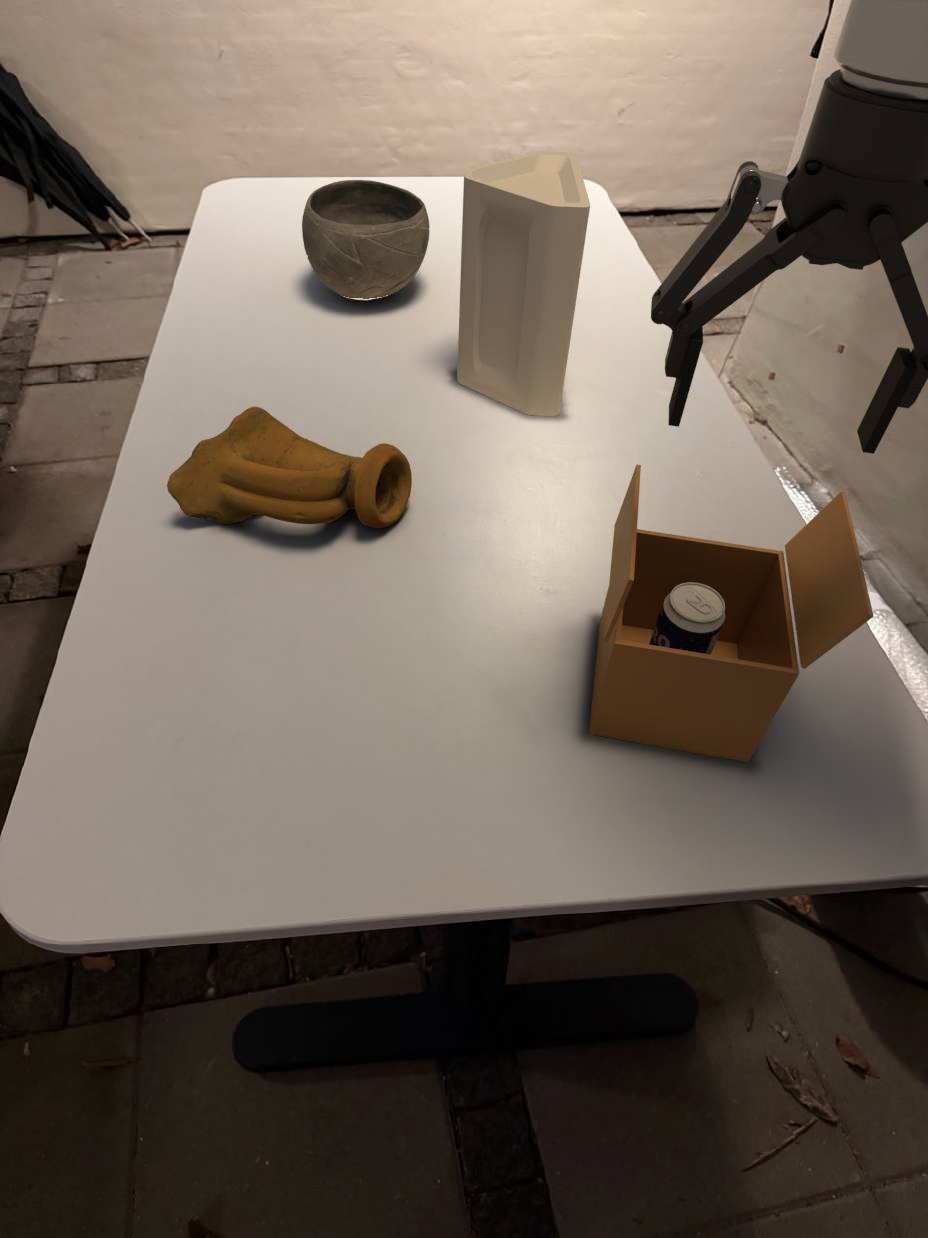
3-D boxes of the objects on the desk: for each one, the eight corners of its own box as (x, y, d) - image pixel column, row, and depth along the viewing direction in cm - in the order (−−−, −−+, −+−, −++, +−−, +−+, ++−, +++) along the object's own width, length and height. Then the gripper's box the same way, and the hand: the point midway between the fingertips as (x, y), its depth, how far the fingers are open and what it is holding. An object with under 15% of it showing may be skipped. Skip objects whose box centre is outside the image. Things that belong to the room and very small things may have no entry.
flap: (784, 545, 72) (788, 547, 72) (800, 667, 62) (804, 669, 62) (841, 490, 67) (845, 492, 67) (869, 614, 57) (874, 616, 57)
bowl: (356, 334, 124) (349, 237, 113) (283, 286, 134) (271, 193, 123) (454, 297, 134) (456, 205, 123) (379, 256, 144) (375, 167, 133)
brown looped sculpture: (267, 389, 99) (416, 411, 90) (275, 487, 105) (415, 517, 96) (155, 416, 84) (320, 446, 76) (172, 528, 90) (327, 568, 82)
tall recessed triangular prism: (457, 345, 123) (464, 147, 102) (550, 348, 123) (575, 152, 103) (456, 412, 110) (463, 202, 90) (560, 416, 111) (591, 207, 90)
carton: (740, 644, 83) (812, 488, 67) (748, 762, 73) (835, 612, 57) (591, 619, 84) (629, 462, 69) (579, 732, 74) (620, 578, 59)
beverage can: (664, 653, 81) (693, 570, 72) (706, 687, 78) (742, 606, 69) (626, 678, 78) (652, 596, 69) (668, 715, 75) (701, 634, 66)
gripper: (1132, 81, 41) (936, 423, 57) (662, 39, 44) (599, 378, 59) (1194, 123, 36) (961, 485, 52) (660, 73, 39) (592, 433, 54)
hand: (768, 429), depth 56 cm, fingers open, 13 cm apart
